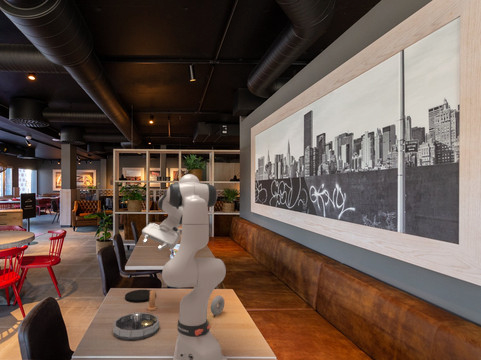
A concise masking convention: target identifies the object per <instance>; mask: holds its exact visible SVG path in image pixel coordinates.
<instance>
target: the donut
mask: <svg viewBox="0 0 481 360" xmlns="http://www.w3.org/2000/svg"><path fill="white" fill-rule="evenodd" d="M224 308H225V299H224V297H223V296H222V295H217V296H215V297H214V298H213V299H212V301H211V303H210V312H211V314H212V315H214V316H219V315H220V314H222V312H223V310H224Z"/></svg>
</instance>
